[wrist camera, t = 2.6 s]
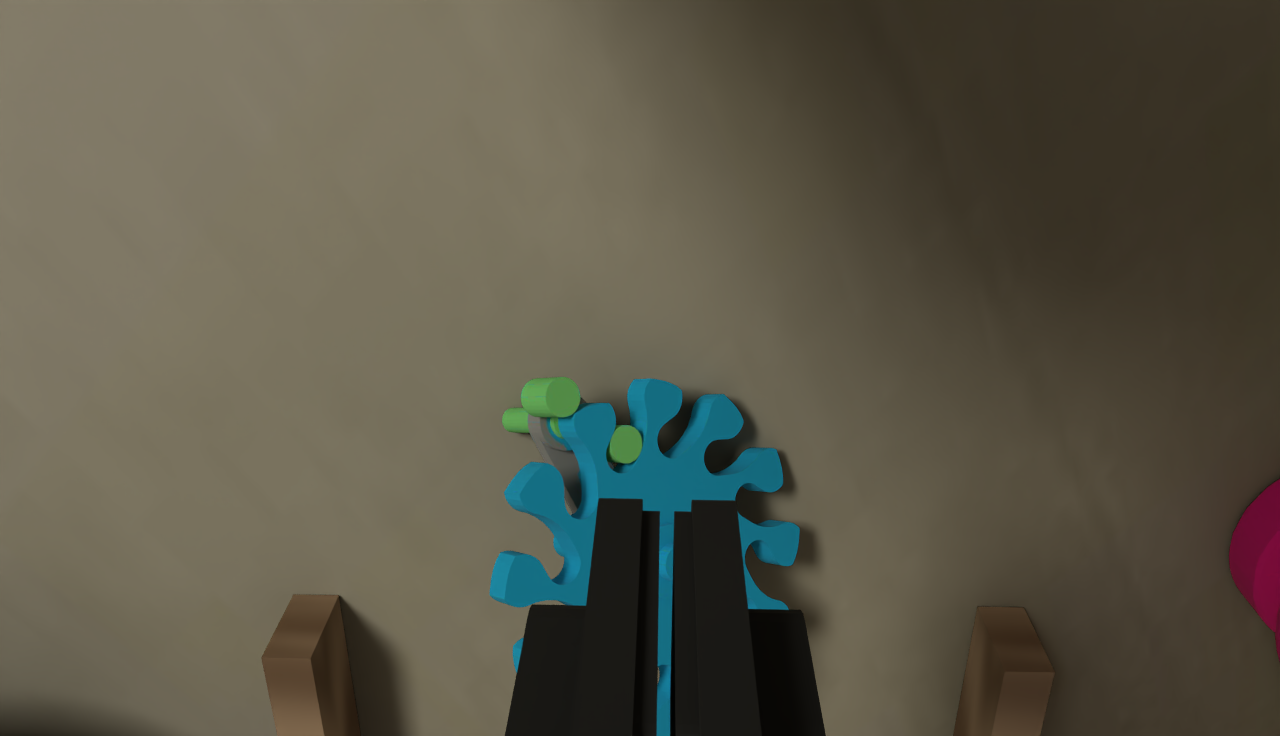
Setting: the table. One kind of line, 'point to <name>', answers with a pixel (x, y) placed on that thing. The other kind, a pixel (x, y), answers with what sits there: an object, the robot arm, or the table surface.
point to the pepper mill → (1260, 557)
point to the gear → (628, 492)
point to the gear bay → (329, 728)
